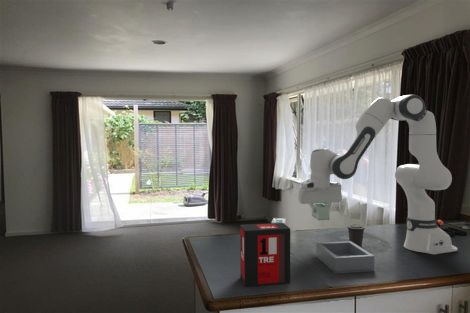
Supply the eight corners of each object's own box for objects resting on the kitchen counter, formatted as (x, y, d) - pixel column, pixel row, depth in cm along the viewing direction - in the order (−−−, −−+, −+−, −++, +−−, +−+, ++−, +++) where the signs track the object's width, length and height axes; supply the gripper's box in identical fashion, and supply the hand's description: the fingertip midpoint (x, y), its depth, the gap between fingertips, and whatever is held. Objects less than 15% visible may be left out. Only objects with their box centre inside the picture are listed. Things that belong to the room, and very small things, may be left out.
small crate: (321, 215, 173) (321, 203, 173) (329, 219, 164) (329, 206, 164) (311, 216, 172) (311, 203, 172) (318, 220, 163) (318, 207, 163)
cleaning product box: (245, 287, 126) (244, 230, 125) (240, 277, 135) (240, 224, 134) (290, 283, 128) (290, 228, 127) (283, 274, 137) (282, 222, 136)
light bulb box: (285, 244, 175) (284, 223, 174) (271, 244, 176) (271, 222, 175) (286, 238, 185) (286, 218, 184) (273, 238, 186) (273, 217, 186)
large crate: (350, 254, 159) (350, 241, 159) (374, 271, 140) (374, 255, 139) (316, 256, 157) (316, 242, 157) (335, 273, 137) (335, 258, 137)
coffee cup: (356, 242, 177) (356, 222, 176) (368, 247, 170) (368, 226, 169) (343, 245, 173) (343, 224, 173) (355, 249, 166) (355, 228, 166)
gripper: (338, 181, 172) (338, 209, 173) (297, 182, 169) (297, 212, 170) (344, 182, 166) (344, 212, 166) (301, 184, 163) (301, 214, 164)
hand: (320, 212), depth 168 cm, fingers closed on small crate, 5 cm apart
